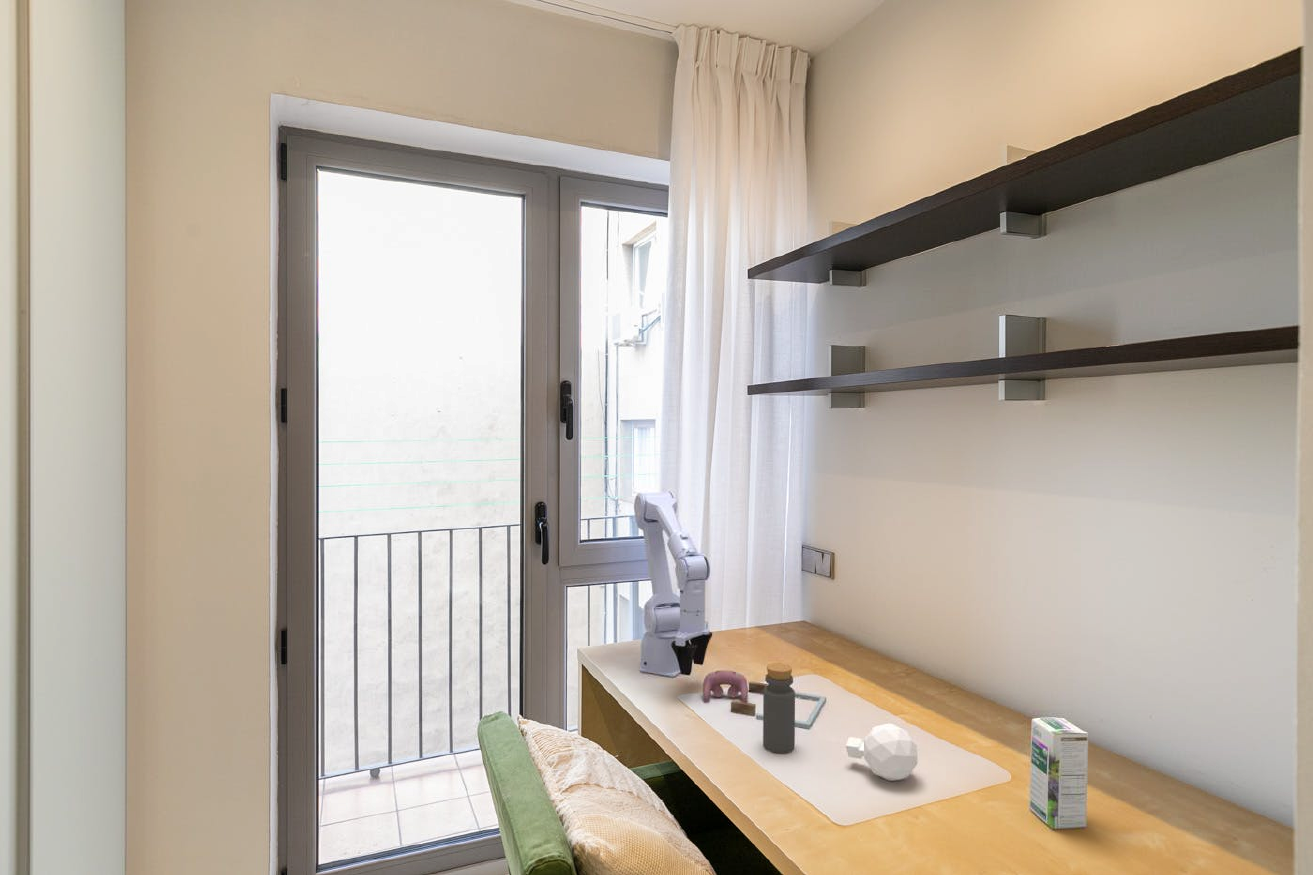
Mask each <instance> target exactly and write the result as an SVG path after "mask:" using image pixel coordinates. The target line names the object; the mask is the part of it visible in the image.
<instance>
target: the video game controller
mask: <svg viewBox="0 0 1313 875" xmlns="http://www.w3.org/2000/svg"><path fill="white" fill-rule="evenodd" d="M702 684H703V685H702V694H703V695H702V696H703V701H704V702H705V703H707V702H708V701H709V700H710V697H711V693H713V696H714V697H716V698H722V697H723V695H724V689H723V687H722V686H723V685H727V686H729V688H727V695H728V697H729V698H730V699H735V698H737V696H738V695H739V693H740V695H741V700H742V701H741V702H746V703H748V700H749V685H748V682H747V678H746V677H745V676H744V675H743V674H742V673H739V672H737V671H733V670H726V669H724V670H723V669H721V670H716V671H711V672H710V673H709V672H708V674H707V675H705V677H704V680H703V683H702ZM721 685H722V686H721Z"/></svg>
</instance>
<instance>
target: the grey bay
mask: <svg viewBox="0 0 1313 875" xmlns="http://www.w3.org/2000/svg"><path fill="white" fill-rule="evenodd" d="M798 697H800V698H799V699H803V698H805V699H804V700H809V699H811V701H815V700H816V701H817V703H816V705H814V708H813V710H812V711H811V713H810V714H809V716H808V718H807V719H806V721H802V720H796V719H795V728H796V727H797V728H802V729H808V730H811V727H812V726H813V724H814V722H815V721H816V719H817V717H818V715H819V714H820V712H821V710H822V708H824V705H825V703H826V702H827V697H826V696H822V695H816V694H812V693H811V694H810V693H804V692H800V691H795V698H798ZM755 720H761V721H763V713H756V714H755Z"/></svg>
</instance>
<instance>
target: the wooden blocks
mask: <svg viewBox="0 0 1313 875" xmlns="http://www.w3.org/2000/svg"><path fill="white" fill-rule="evenodd" d="M768 685H769V684H768V683H763V682H757V681H748V693H752V694H753V693H755V694H760V695H763V693H764V688H765V687H766V686H768ZM730 712H732V713H736V714H742V715H747V716H756V704H755V703H750V702H743V701H741V700H734V699H733V700H731V702H730Z"/></svg>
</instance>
